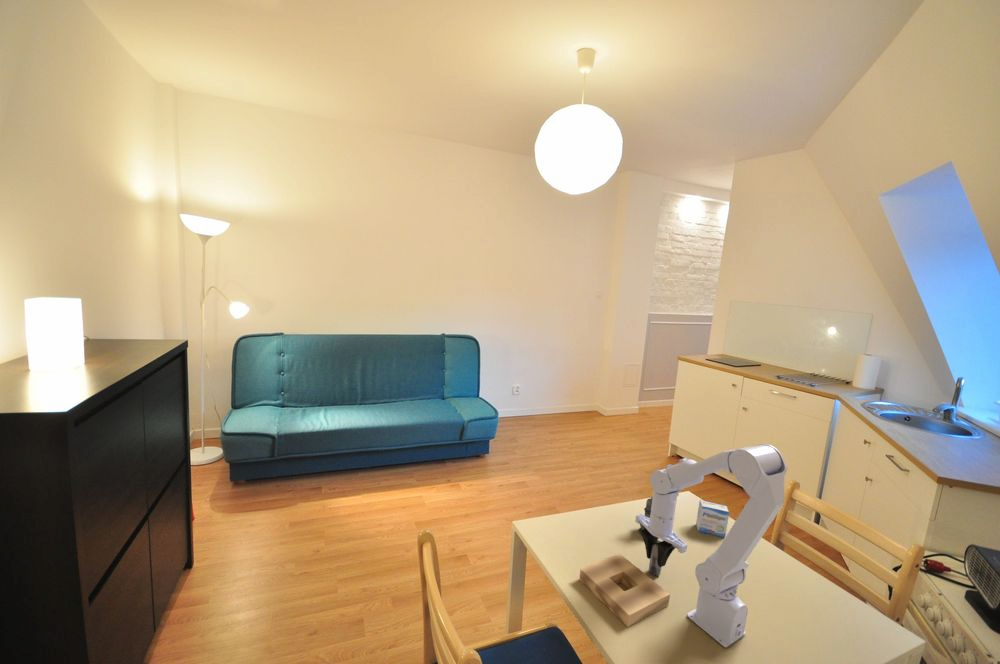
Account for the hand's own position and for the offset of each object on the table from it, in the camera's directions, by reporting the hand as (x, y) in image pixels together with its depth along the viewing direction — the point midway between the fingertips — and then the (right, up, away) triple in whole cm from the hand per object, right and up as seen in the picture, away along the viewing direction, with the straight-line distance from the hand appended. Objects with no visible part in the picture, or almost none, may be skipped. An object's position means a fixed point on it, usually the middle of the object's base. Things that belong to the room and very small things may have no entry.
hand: (655, 561), depth 109 cm
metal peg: (0, -3, 0) cm, 3 cm away
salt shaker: (+4, -2, +18) cm, 19 cm away
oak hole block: (-11, -4, -7) cm, 13 cm away
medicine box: (+25, -3, +22) cm, 34 cm away
